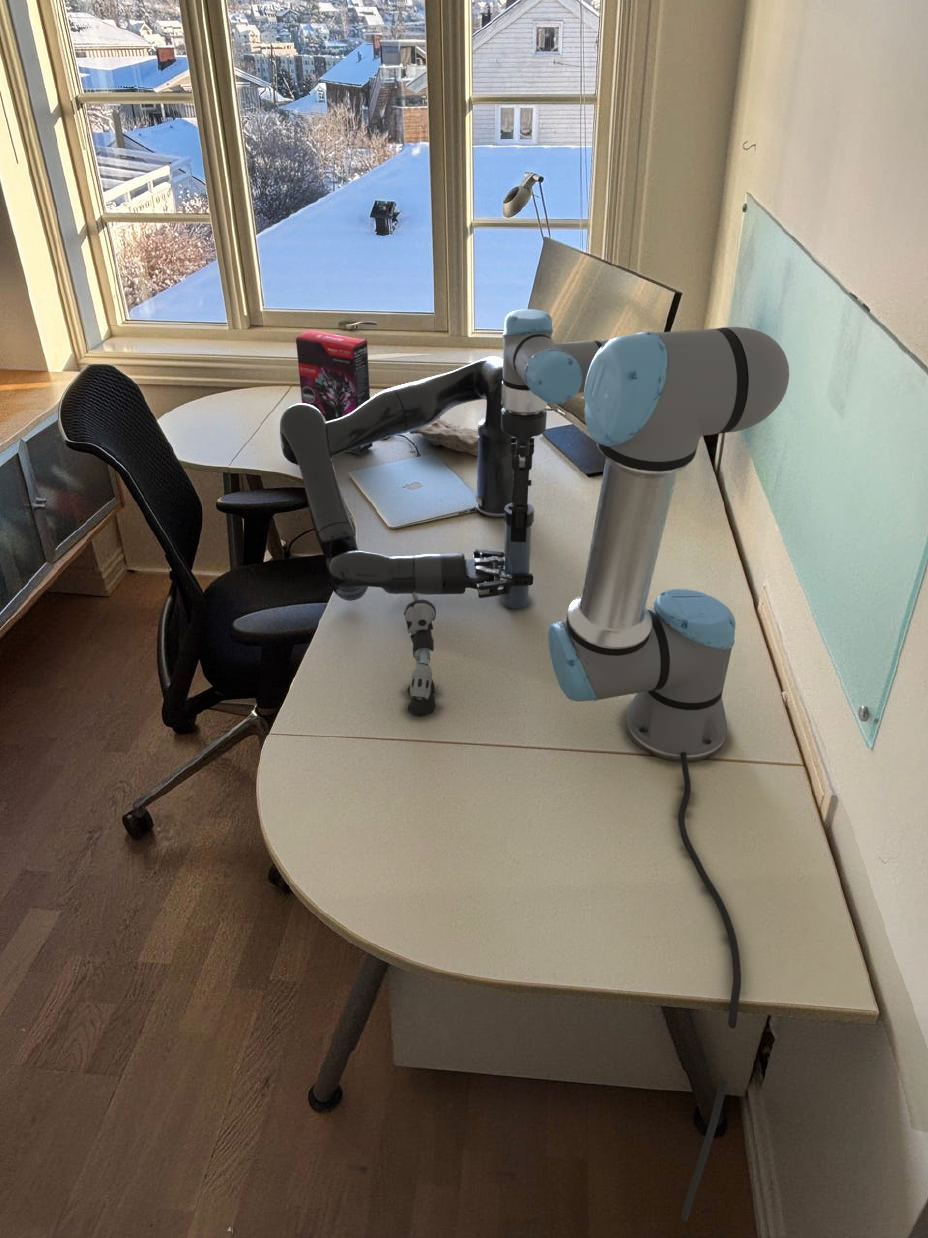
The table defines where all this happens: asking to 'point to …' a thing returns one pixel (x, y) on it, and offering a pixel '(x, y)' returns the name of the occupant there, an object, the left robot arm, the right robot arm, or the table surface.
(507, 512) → the lid
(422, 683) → the robot
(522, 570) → the blue-grey bottle
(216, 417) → the table surface
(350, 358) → the graphics card box
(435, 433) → the stone
